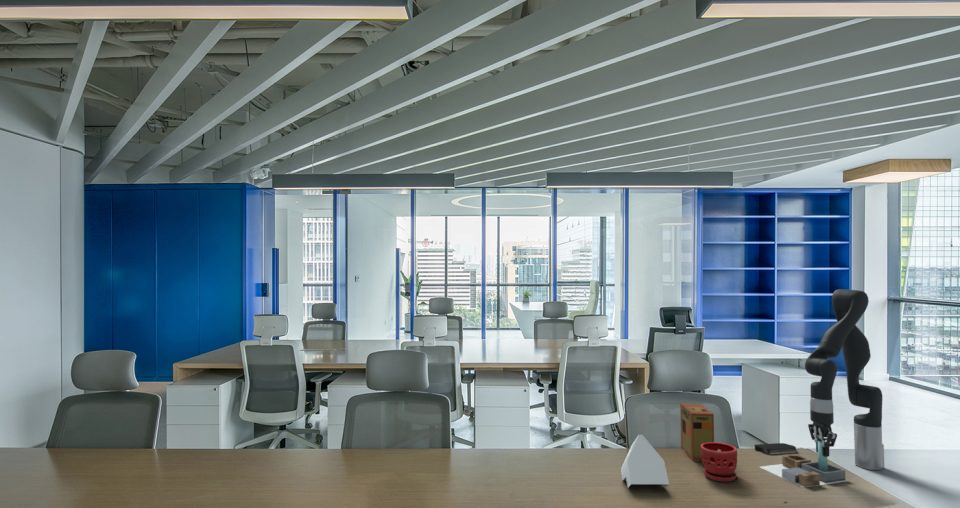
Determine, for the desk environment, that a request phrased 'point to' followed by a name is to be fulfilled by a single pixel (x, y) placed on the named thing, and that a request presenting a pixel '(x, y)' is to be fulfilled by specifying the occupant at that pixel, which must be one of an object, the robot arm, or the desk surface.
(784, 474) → the grey rectangular brick
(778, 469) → the board
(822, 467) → the dowel
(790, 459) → the socket
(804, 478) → the brown wooden block
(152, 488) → the desk surface
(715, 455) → the plant pot
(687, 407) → the box
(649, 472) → the slotted wedge
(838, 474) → the tray
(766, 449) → the black sponge
